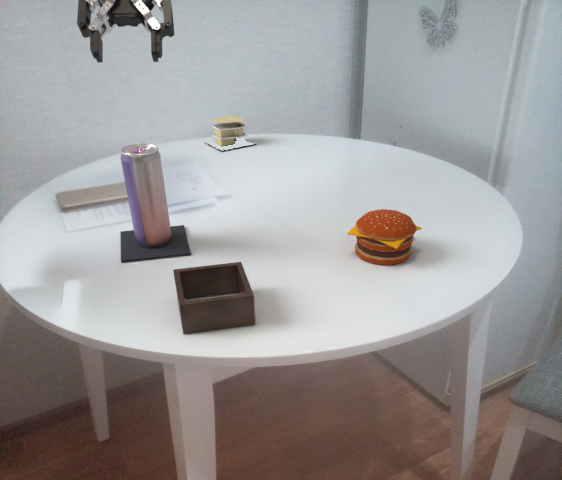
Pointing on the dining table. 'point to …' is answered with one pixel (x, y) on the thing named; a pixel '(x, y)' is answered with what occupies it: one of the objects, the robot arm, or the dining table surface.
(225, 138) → the stacked layers on plate
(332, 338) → the dining table surface
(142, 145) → the beverage can
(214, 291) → the box
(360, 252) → the hamburger
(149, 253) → the mat
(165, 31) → the robot arm
